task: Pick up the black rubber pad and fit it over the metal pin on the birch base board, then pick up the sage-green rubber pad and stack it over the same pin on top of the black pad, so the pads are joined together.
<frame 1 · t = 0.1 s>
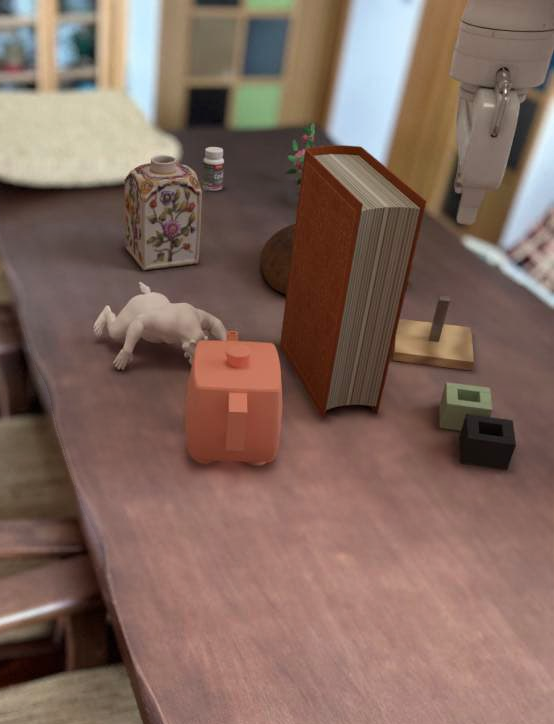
hand: (462, 206, 88), 33 cm above the table, tool pointing down, fingers open, 8 cm apart
sage pad: (461, 419, 117), on the table
book: (324, 377, 126), on the table
decorative jar: (161, 257, 160), on the table
bread: (331, 276, 154), on the table
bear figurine: (162, 349, 132), on the table
flower vase: (317, 204, 183), on the table
base board: (431, 347, 133), on the table
teapot: (229, 442, 113), on the table
black pad: (482, 453, 111), on the table
pill bottle: (212, 188, 190), on the table
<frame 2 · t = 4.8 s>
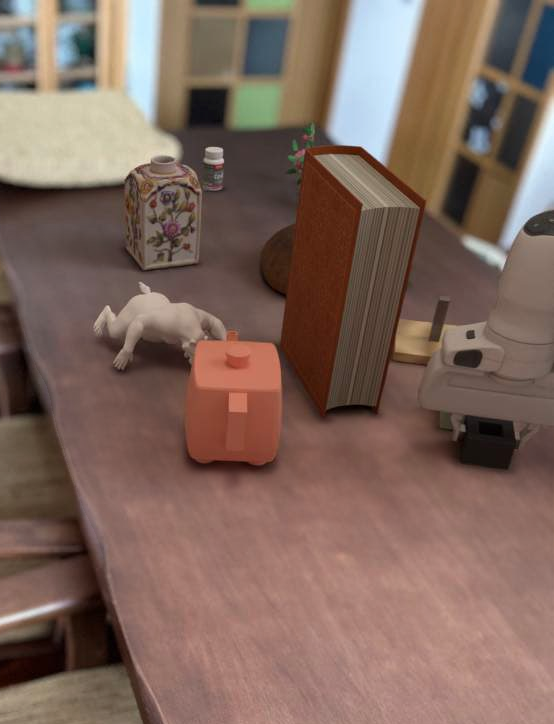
hand: (485, 442, 110), 2 cm above the table, tool pointing down, fingers closed on black pad, 6 cm apart
black pad: (482, 453, 111), on the table, touching gripper
everything else where it was.
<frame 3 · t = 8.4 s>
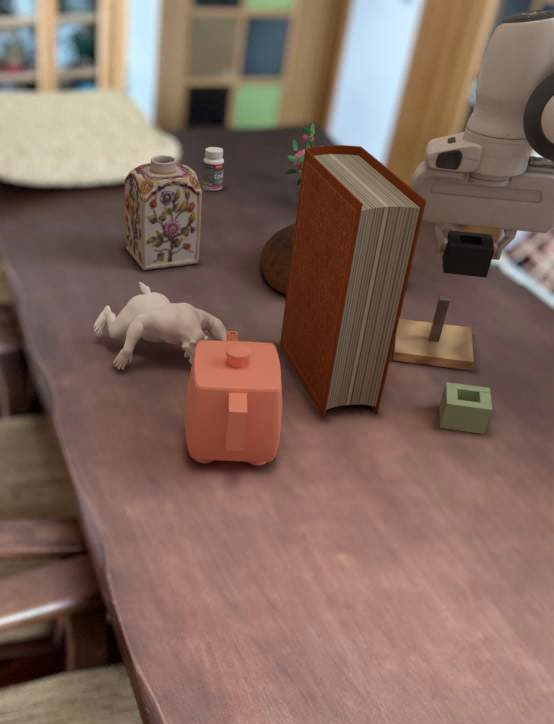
hand: (466, 255, 118), 17 cm above the table, tool pointing down, fingers closed on black pad, 6 cm apart
black pad: (463, 267, 119), point 15 cm above the table, touching gripper
everything else where it was.
when the fingers open (3 cm above the table, at t = 12.4 s): black pad stays where it is, resting on base board.
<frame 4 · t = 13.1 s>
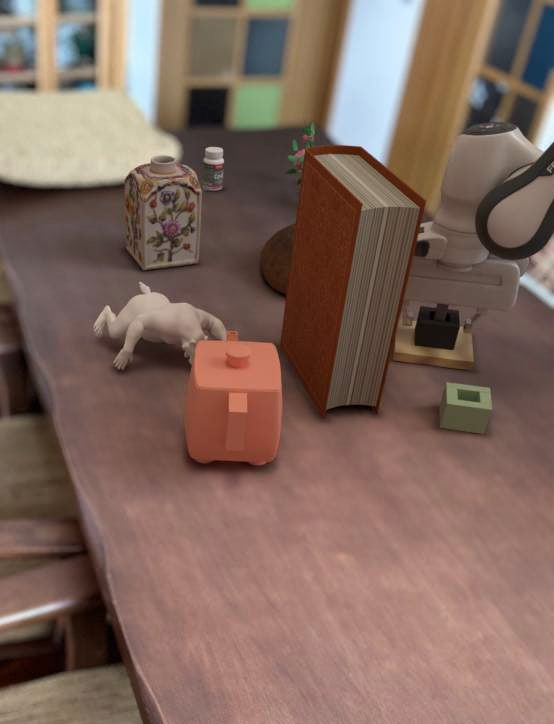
hand: (436, 328, 131), 3 cm above the table, tool pointing down, fingers open, 8 cm apart
black pad: (433, 339, 132), point 1 cm above the table, touching base board
everything else where it was.
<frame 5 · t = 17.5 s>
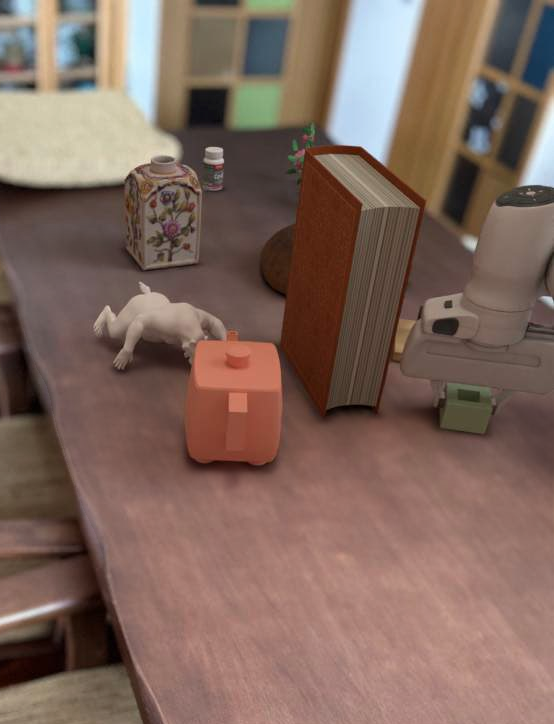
hand: (464, 409, 116), 2 cm above the table, tool pointing down, fingers closed on sage pad, 6 cm apart
sage pad: (461, 419, 117), on the table, touching gripper
everything else where it was.
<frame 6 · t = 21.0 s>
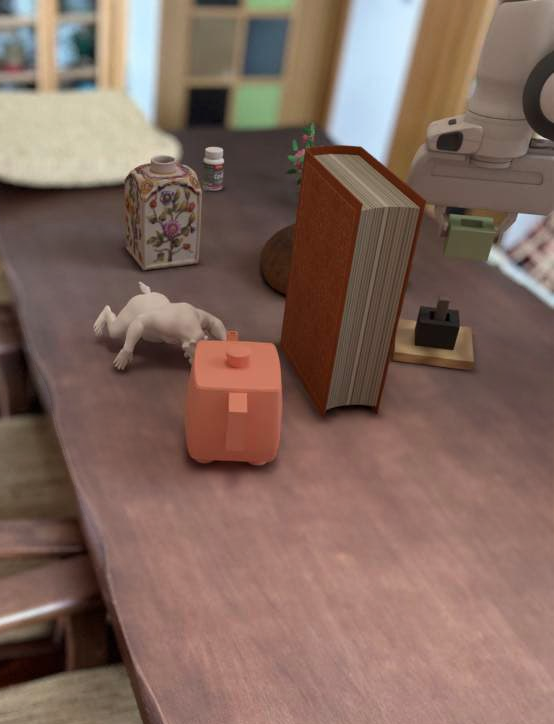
hand: (467, 238, 118), 19 cm above the table, tool pointing down, fingers closed on sage pad, 6 cm apart
sage pad: (464, 250, 119), point 17 cm above the table, touching gripper
everything else where it was.
when the fingers open (7 cm above the table, at t = 24.5 s): sage pad stays where it is, resting on black pad.
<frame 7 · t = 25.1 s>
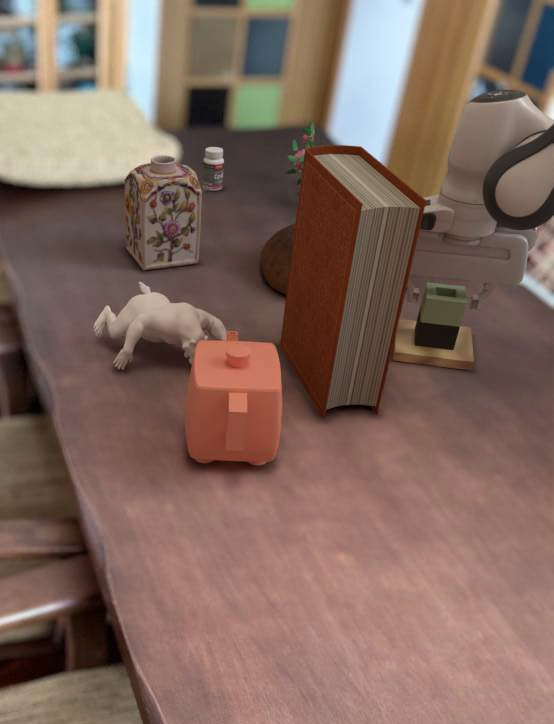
hand: (442, 304, 128), 7 cm above the table, tool pointing down, fingers open, 8 cm apart
sage pad: (439, 316, 130), point 5 cm above the table, touching black pad
black pad: (433, 339, 132), point 1 cm above the table, touching base board, sage pad
everything else where it was.
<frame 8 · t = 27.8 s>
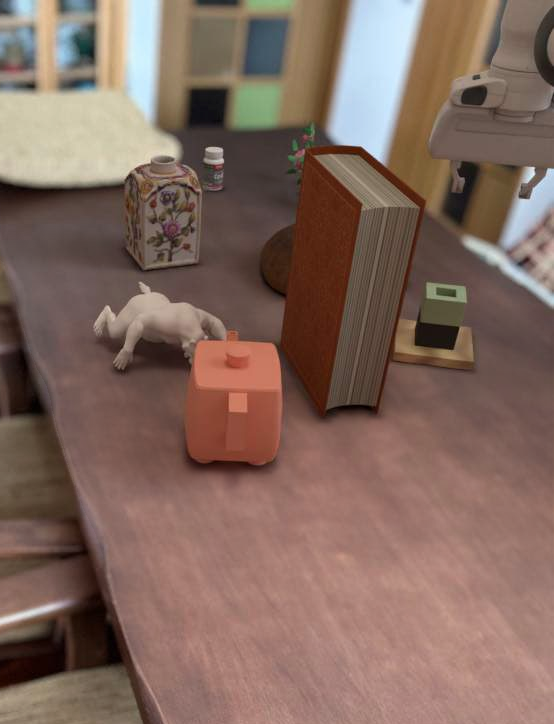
hand: (489, 194, 120), 23 cm above the table, tool pointing down, fingers open, 8 cm apart
nothing on the table moved.
at the end: black pad 0.0 cm off-centre on the base board, point 1.5 cm above the base board's base; sage pad 0.0 cm off-centre on the base board, point 5.5 cm above the base board's base; sage pad tilted 0° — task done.
